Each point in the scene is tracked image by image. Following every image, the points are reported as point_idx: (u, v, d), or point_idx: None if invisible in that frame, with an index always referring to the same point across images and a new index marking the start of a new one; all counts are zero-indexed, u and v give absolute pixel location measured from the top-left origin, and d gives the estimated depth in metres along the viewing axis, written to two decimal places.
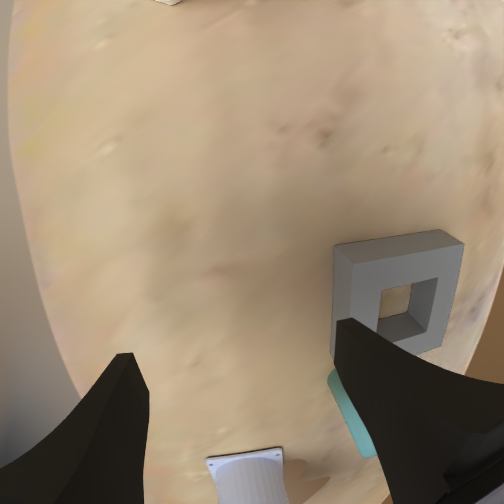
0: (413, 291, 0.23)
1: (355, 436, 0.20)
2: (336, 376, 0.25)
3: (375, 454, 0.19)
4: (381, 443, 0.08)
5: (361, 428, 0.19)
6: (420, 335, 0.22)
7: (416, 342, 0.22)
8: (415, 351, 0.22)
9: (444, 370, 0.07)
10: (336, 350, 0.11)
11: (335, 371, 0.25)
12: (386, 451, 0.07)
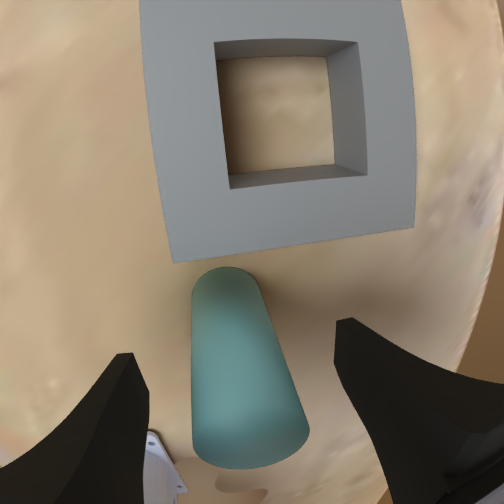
0: (335, 113, 0.12)
1: None
2: (197, 288, 0.14)
3: (250, 464, 0.08)
4: (381, 443, 0.08)
5: (199, 387, 0.08)
6: (354, 182, 0.11)
7: (347, 199, 0.11)
8: (351, 224, 0.11)
9: (444, 370, 0.07)
10: (336, 350, 0.11)
11: (199, 281, 0.14)
12: (386, 451, 0.07)
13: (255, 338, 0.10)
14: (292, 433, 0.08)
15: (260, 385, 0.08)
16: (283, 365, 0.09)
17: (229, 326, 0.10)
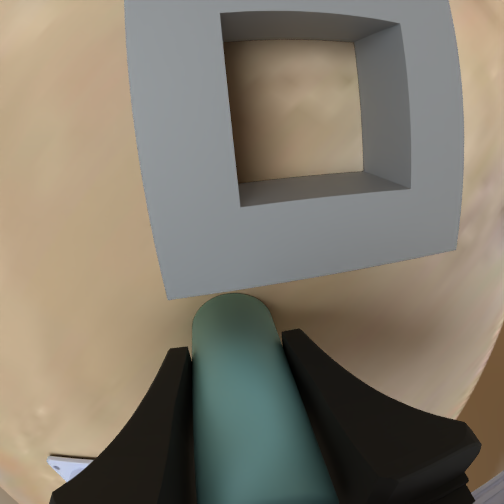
0: (365, 110, 0.10)
1: None
2: (199, 320, 0.11)
3: None
4: None
5: (204, 460, 0.06)
6: (395, 197, 0.08)
7: (386, 218, 0.08)
8: (389, 249, 0.09)
9: (380, 394, 0.06)
10: None
11: (201, 310, 0.12)
12: None
13: (273, 395, 0.07)
14: None
15: (283, 465, 0.05)
16: (308, 428, 0.07)
17: (240, 379, 0.08)
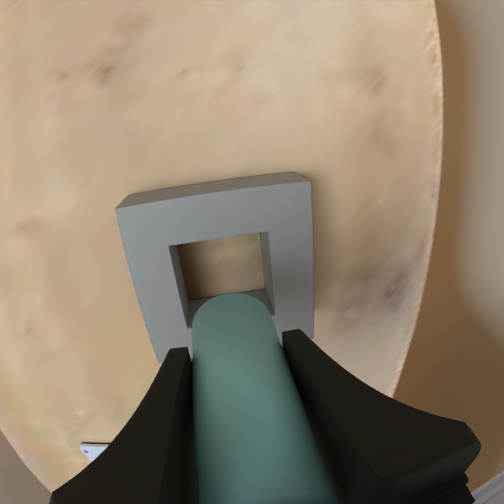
0: (263, 258, 0.19)
1: (196, 478, 0.06)
2: (199, 319, 0.11)
3: None
4: None
5: (205, 460, 0.06)
6: None
7: None
8: None
9: (380, 394, 0.06)
10: None
11: (201, 309, 0.12)
12: None
13: (274, 396, 0.07)
14: None
15: (284, 466, 0.05)
16: (308, 429, 0.07)
17: (241, 380, 0.08)
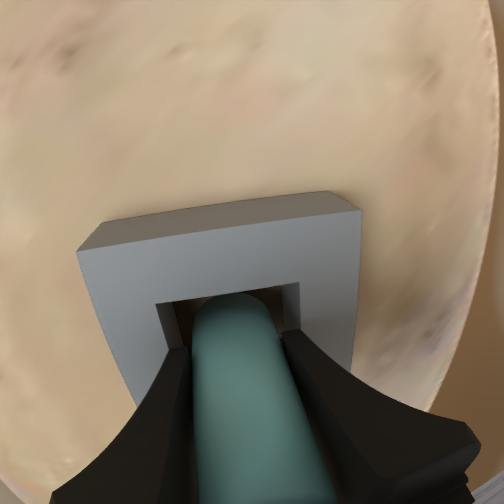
0: (284, 305, 0.14)
1: (196, 477, 0.06)
2: (199, 319, 0.11)
3: None
4: None
5: (205, 460, 0.06)
6: None
7: None
8: None
9: (380, 394, 0.06)
10: None
11: (201, 309, 0.12)
12: None
13: (274, 396, 0.07)
14: None
15: (284, 466, 0.05)
16: (308, 429, 0.07)
17: (241, 379, 0.08)
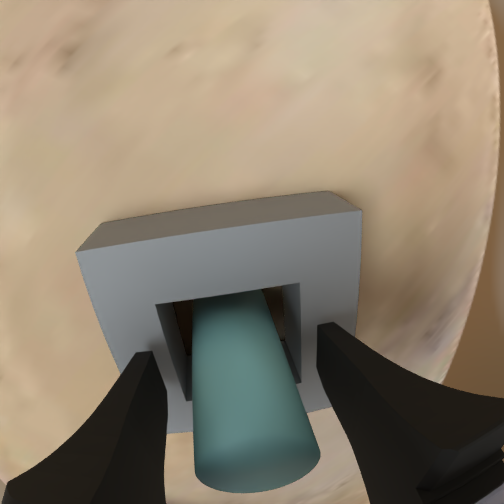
0: (284, 305, 0.14)
1: (193, 430, 0.08)
2: None
3: (254, 488, 0.07)
4: (360, 450, 0.08)
5: (201, 410, 0.08)
6: None
7: None
8: None
9: (423, 379, 0.07)
10: (317, 354, 0.11)
11: None
12: (364, 459, 0.07)
13: (263, 356, 0.09)
14: (302, 460, 0.07)
15: (270, 411, 0.07)
16: (293, 386, 0.08)
17: (234, 342, 0.09)
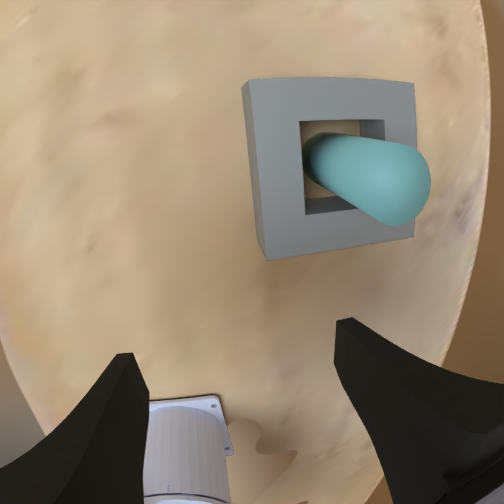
0: None
1: (348, 173, 0.12)
2: (311, 141, 0.17)
3: (394, 217, 0.12)
4: (381, 443, 0.08)
5: (355, 153, 0.12)
6: None
7: (373, 220, 0.17)
8: (375, 236, 0.17)
9: (444, 370, 0.07)
10: (336, 350, 0.11)
11: (309, 139, 0.18)
12: (386, 451, 0.07)
13: None
14: (421, 184, 0.11)
15: None
16: None
17: (358, 137, 0.14)
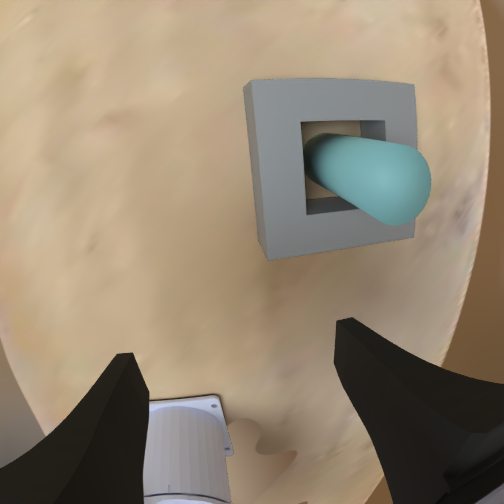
0: None
1: (349, 174, 0.12)
2: (312, 142, 0.17)
3: (394, 217, 0.12)
4: (381, 443, 0.08)
5: (357, 154, 0.12)
6: None
7: (373, 220, 0.17)
8: (375, 236, 0.18)
9: (444, 370, 0.07)
10: (336, 350, 0.11)
11: (311, 140, 0.18)
12: (386, 451, 0.07)
13: None
14: (422, 184, 0.11)
15: None
16: None
17: (359, 137, 0.14)
